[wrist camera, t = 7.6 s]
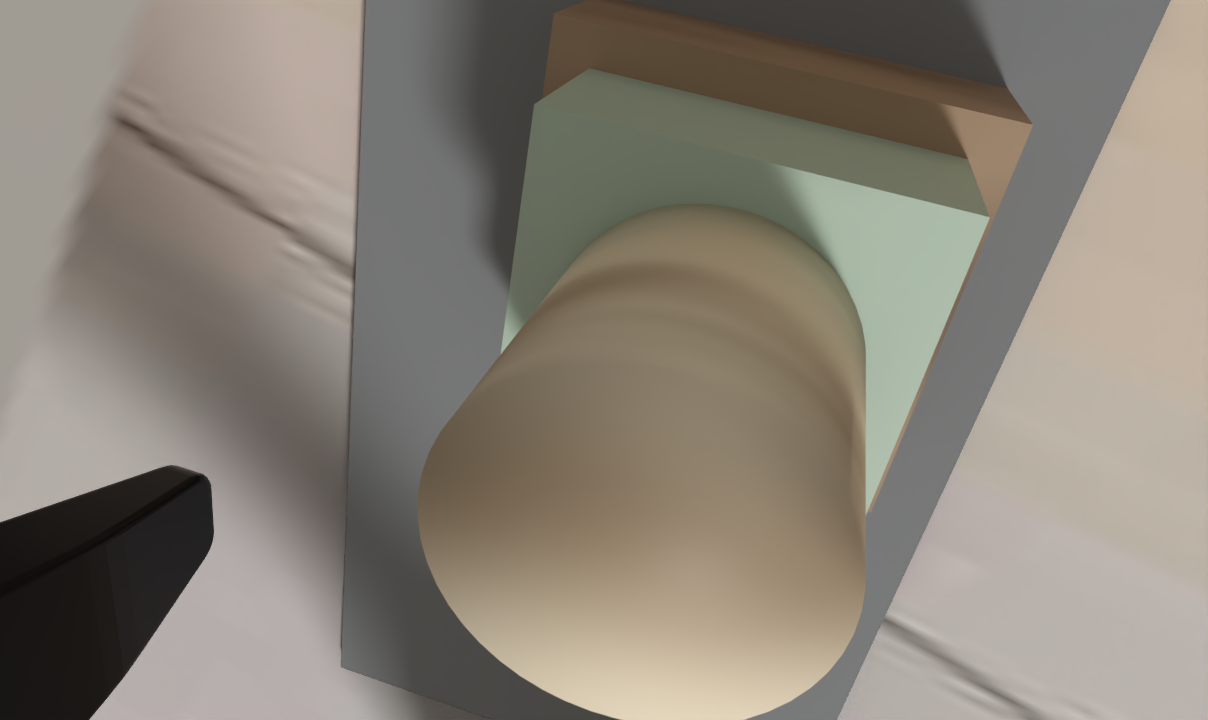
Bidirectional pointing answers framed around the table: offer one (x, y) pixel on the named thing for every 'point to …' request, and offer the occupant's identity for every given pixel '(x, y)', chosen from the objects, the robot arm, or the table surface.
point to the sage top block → (758, 211)
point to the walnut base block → (800, 91)
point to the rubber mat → (486, 250)
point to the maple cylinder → (664, 475)
